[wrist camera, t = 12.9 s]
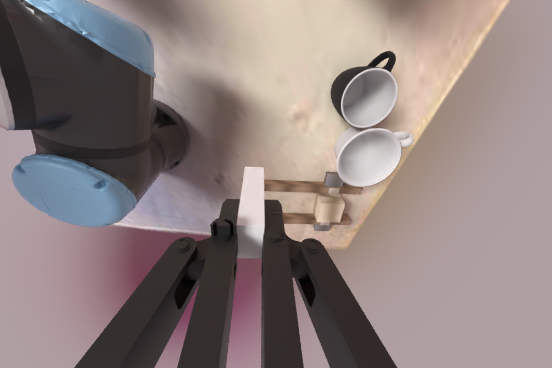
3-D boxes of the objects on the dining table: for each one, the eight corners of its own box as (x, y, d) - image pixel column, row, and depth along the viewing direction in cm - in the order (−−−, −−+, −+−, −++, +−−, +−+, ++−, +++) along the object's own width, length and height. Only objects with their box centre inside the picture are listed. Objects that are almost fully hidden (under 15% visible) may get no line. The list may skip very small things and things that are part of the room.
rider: (312, 209, 58) (316, 222, 54) (316, 191, 55) (321, 203, 51) (334, 209, 59) (339, 222, 54) (339, 192, 55) (345, 203, 51)
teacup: (394, 146, 49) (421, 166, 40) (332, 171, 52) (346, 196, 43) (385, 96, 43) (415, 108, 34) (316, 128, 46) (328, 147, 37)
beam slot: (261, 224, 60) (261, 232, 58) (264, 169, 50) (265, 175, 48) (343, 226, 62) (346, 233, 60) (361, 173, 52) (366, 179, 50)
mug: (347, 120, 45) (367, 137, 37) (315, 96, 42) (329, 109, 33) (392, 67, 40) (427, 72, 31) (358, 34, 37) (387, 31, 28)
